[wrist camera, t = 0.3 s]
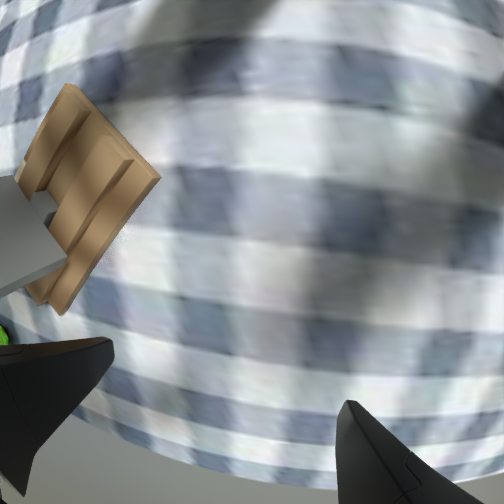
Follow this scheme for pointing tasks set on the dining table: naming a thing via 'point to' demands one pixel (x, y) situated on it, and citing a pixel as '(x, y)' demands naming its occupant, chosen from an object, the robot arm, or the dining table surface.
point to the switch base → (81, 189)
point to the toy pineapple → (3, 337)
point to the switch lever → (26, 237)
